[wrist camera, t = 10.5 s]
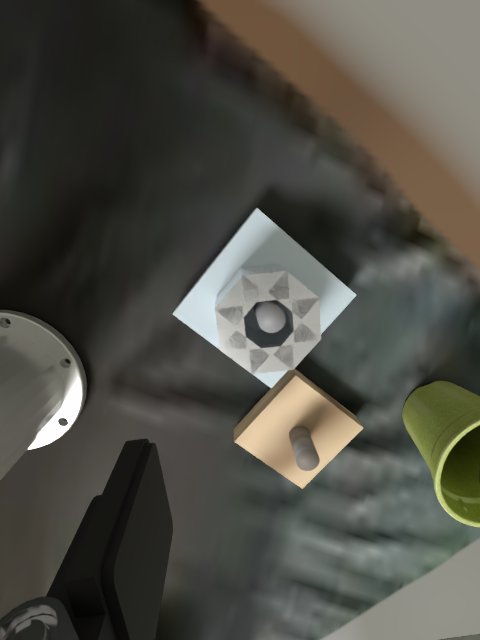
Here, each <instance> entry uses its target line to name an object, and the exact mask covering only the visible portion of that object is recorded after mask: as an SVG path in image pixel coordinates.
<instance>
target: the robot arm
mask: <svg viewBox="0 0 480 640" xmlns="http://www.w3.org/2000/svg"><path fill="white" fill-rule="evenodd" d="M9 320H10V321H9ZM68 359H69V360H70V361H68ZM86 393H87V381H86V375H85V370H84V368H83V365H82V362H81V360H80V358H79V356H78V354H77V353H76V351H75V349H74V348H73V346H72V345H71V344H70V343H69V342H68V341H67V339H66V338H65V337H64V336H63V335H62V334H60V333H59V332H58V331H57V330H56V329H54V328H53V327H52V326H50V325H49V324H47V323H45V322H43V321H42V320H40V319H38V318H36V317H33V316H30V315H27V314H25V313H21V312H16V311H10V310H0V480H1V479H2V478H3V477H4V476H5V475H6V473H7V472H8V471H9V470H10V469H11V468H12V466H13V465H14V464H15V463H16V462H17V461H18V460H19V458H20V457H21V456H22V455H23V454H24V453H25V452H26V450H29V449H35V448H39V447H42V446H44V445H47V444H50V443H52V442H53V441H55V440H57V439H58V438H60V437H61V436H62V435H63V434H65V433H66V432H67V431H68V430H69V429H70V428H71V426H72V425H73V424H74V423H75V421H76V420H77V419H78V417H79V415H80V413H81V411H82V409H83V407H84V403H85V400H86ZM479 482H480V470H479ZM172 533H173V523H172V517H171V512H170V507H169V503H168V498H167V493H166V489H165V484H164V479H163V475H162V470H161V465H160V461H159V456H158V451H157V447H156V444H155V443H149V441H148V439H139V440H132V441H127V442H126V443H125V444H124V446H123V449H122V451H121V453H120V455H119V458H118V460H117V462H116V464H115V467H114V469H113V471H112V473H111V475H110V478H109V480H108V482H107V484H106V487H105V489H104V491H103V493H102V495H98V496H96V497H94V498H93V500H92V501H91V503H90V505H89V507H88V509H87V511H86V513H85V516H84V518H83V520H82V522H81V524H80V526H79V528H78V530H77V532H76V534H75V537H74V539H73V541H72V543H71V545H70V547H69V549H68V551H67V553H66V555H65V558H64V560H63V562H62V564H61V566H60V568H59V570H58V572H57V574H56V576H55V579H54V581H53V583H52V585H51V587H50V589H49V591H48V593H47V595H46V597H38V598H35V599H32V600H29V601H26V602H25V603H23V604H21V605H19V606H18V607H16V608H14V609H12V610H11V611H10V612H9V613H8V614H6V615H5V616H4V617H3V618H1V619H0V640H155V637H156V631H157V625H158V619H159V613H160V607H161V601H162V595H163V589H164V583H165V577H166V571H167V564H168V558H169V552H170V546H171V540H172ZM440 640H480V634H476V635H469V636H462V637H454V638H447V639H440Z"/></svg>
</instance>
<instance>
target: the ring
mask: <svg viewBox="0 0 480 640" xmlns="http://www.w3.org/2000/svg"><path fill="white" fill-rule="evenodd" d="M319 299H320V298H319V297H318V296H317V295H316V294H315V293H313V292H312V291H311V290H310V289H308V288H307V287H306V286H304V285H303V284H302V283H301V282H300V281H298V280H297V279H296V278H295V277H294V276H292V275H291V274H290V273H289V272H288V271H287V270H286V269H285V268H283V267H282V266H281V265H280V264H278V263H277V264H269V265H259V266H250V267H240V268H239V270H238V271H237V272H236V273H235V274H234V276H233V277H232V278H231V279H230V281H229V282H228V283H227V284H226V286H225V287H224V288H223V289H222V291H221V292H220V293H219V294H218V296H216V302H215V314H216V322H217V330H218V338H219V346H220V351H222V352H223V353H224V354H226V355H227V356H229V357H230V358H231V359H233V360H234V361H235V362H237V363H238V364H239V365H241V366H242V367H243V368H245V369H246V370H247V371H249V372H250V373H251V374H259V373H268V372H277V371H286V370H294V368H295V367H296V366H297V365H298V364H299V363H300V362H301V361H302V360H303V359H304V357H305V356H306V355H307V354H308V353H309V352H310V351H311V350H312V349H313V347H314V346H315V345H316V344H317V343H318V342H319V341H320V340H321V325H320V301H319ZM270 300H278V301H279V302H281V303H282V304H283V306H284V314H285V317H286V321H285V324H284V326H283V328H282V329H281V330H279V331H278V332H275V333H268V332H265V331H263V330H257V331H256V330H255V329H253V328H252V327H251V326H250V325H248V324H247V323H246V322H244V317H245V315H246V314H247V313H248V312H249V311H250V309H251V308H252V307H253V306H254V305H255V303H256V302H261V301H270Z"/></svg>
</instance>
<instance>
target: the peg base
mask: <svg viewBox="0 0 480 640" xmlns="http://www.w3.org/2000/svg"><path fill="white" fill-rule="evenodd" d="M277 263H278V264H280V265H281V266H282V267H283V268H285V269H286V270H287V271H288V272H289V273H290V274H291V275H292V276H294V277H295V278H296V279H297V280H298V281H300V282H301V283H302V284H303V285H304V286H306V287H307V288H308V289H310V290H311V291H312V292H313V293H315V294H316V295H317V296H318V297H319V298H320V299H319V301H320V325H321V334H322V333H323V332H324V330H325V329H326V328H327V327H328V326H329V325H330V324H331V323H332V322H333V321H334V319H335V318H336V317H337V316H338V315H339V314H340V313H341V312H342V311H343V310H344V309H345V307H346V306H347V305H348V304H349V303H350V302H351V301H352V300H353V299H354V298H355V296H356V294H355V293H354V292H352V291H351V290H350V289H349V288H348V287H347V286H346V285H344V284H343V283H342V282H341V281H340V280H339V279H338V278H336V277H335V276H334V275H333V274H332V273H331V272H330V271H328V270H327V269H326V268H325V267H324V266H323V265H322V264H321V263H319V262H318V261H317V260H316V259H315V258H314V257H313V256H311V255H310V254H309V253H308V252H307V251H306V250H305V249H303V248H302V247H301V246H300V245H299V244H298V243H297V242H295V241H294V240H293V239H292V238H291V237H290V236H289V235H287V234H286V233H285V232H284V231H283V230H282V229H281V228H279V227H278V226H277V225H276V224H275V223H274V222H273V221H271V220H270V219H269V218H268V217H267V216H266V215H265V214H263V213H262V212H261V211H260V210H259V209H258V208H256V209H254V210H253V212H252V213H251V214H250V215H249V217H248V218H247V219H246V220H245V222H244V223H243V224H242V225H241V227H240V228H239V229H238V230H237V232H236V233H235V234H234V235H233V237H232V238H231V239H230V240H229V242H228V243H227V244H226V246H225V247H224V248H223V249H222V251H221V252H220V253H219V254H218V256H217V257H216V258H215V259H214V261H213V262H212V263H211V264H210V266H209V267H208V268H207V269H206V271H205V272H204V273H203V274H202V276H201V277H200V278H199V279H198V281H197V282H196V283H195V284H194V286H193V287H192V288H191V289H190V291H189V292H188V293H187V295H186V296H185V297H184V298H183V300H182V301H181V302H180V303H179V305H178V306H177V307H176V309H175V311H174V312H173V315H174V316H176V317H177V318H178V319H180V320H181V321H182V322H184V323H185V324H186V325H188V326H189V327H190V328H192V329H193V330H194V331H196V332H197V333H198V334H200V335H201V336H202V337H204V338H205V339H206V340H208V341H209V342H210V343H212V344H213V345H214V346H216V347H217V348H218V349H220V346H219V338H218V330H217V322H216V314H215V302H216V296H218V294H219V293H220V292H221V291H222V289H223V288H224V287H225V286H226V284H227V283H228V282H229V281H230V279H231V278H232V277H233V276H234V274H235V273H236V272H237V271H238V270H239V268H240V267H250V266H259V265H269V264H277ZM285 321H286V317H285V314H284V306H283V304H282V303H281V302H279V301H278V300H270V301H261V302H256V303H255V305H254V306H253V307H252V308H251V309H250V311H249V312H248V313H247V314H246V315H245V317H244V322H246V323H247V324H248V325H250V326H251V327H252V328H253V329H255V330H256V331H257V330H263V331H265V332H268V333H275V332H278V331H279V330H281V329H282V328H283V326H284V324H285ZM287 371H288V370H286V371H277V372H268V373H259V374H253V375H254V376H256V377H257V378H258V379H260V380H261V381H262V382H264V383H265V384H266V385H268V386H269V387H270V388H272V387H273V386H274V385H275V384H276V383H277V382H278V381H279V380H280V379H281V378H282V376H283V375H284V374H285V373H286V372H287Z"/></svg>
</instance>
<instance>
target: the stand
mask: <svg viewBox="0 0 480 640" xmlns="http://www.w3.org/2000/svg"><path fill="white" fill-rule="evenodd" d="M362 429H363V426H362V425H361V423H360V422H359V420H358V419H357V417H356V416H355V415H354V414H353V413H351V412H350V411H349V410H347V409H346V408H345V407H344V406H342V405H341V404H340V403H338V402H337V401H336V400H335V399H333V398H332V397H331V396H329V395H328V394H327V393H326V392H324V391H323V390H322V389H320V388H319V387H318V386H317V385H315V384H314V383H313V382H311V381H310V380H309V379H308V378H306V377H305V376H304V375H303V374H301V373H300V372H299V371H297V370H296V369H295V368H294V370H288V371H287V372H286V373H285V374H284V375H283V376H282V378H281V379H280V380H279V381H278V382H277V383H276V384H275V385H274V386H273V387H272V388H271V389H270V390H269V391H268V392H267V393H266V394H265V395H264V396H263V397H262V398H261V400H260V401H259V402H258V403H257V404H256V405H255V406H254V407H253V408H252V409H251V411H250V412H249V413H248V414H247V415H246V416H245V417H244V418H243V419H242V420H241V422H240V423H239V424H238V425H237V426H236V427H235V428H234V442H236V443H237V444H238V445H240V446H241V447H243V448H244V449H246V450H247V451H249V452H250V453H251V454H253V455H254V456H256V457H257V458H259V459H260V460H262V461H263V462H264V463H266V464H267V465H269V466H270V467H272V468H273V469H275V470H276V471H277V472H279V473H280V474H282V475H283V476H285V477H286V478H287V479H289V480H290V481H292V482H293V483H295V484H296V485H298V486H299V487H300V488H303V487H304V486H305V485H306V484H308V483H309V482H310V481H311V480H312V479H313V478H314V477H315V476H316V475H317V474H318V473H319V472H320V471H321V470H322V469H323V468H324V467H325V466H326V465H327V464H328V463H329V462H330V461H331V460H332V459H333V458H334V457H335V456H336V455H337V454H338V453H339V452H340V451H341V450H342V449H343V448H344V447H345V446H346V445H347V444H348V443H349V442H350V441H351V440H352V439H353V438H354V437H355V436H356V435H357V434H358V433H359V432H360V431H361V430H362Z"/></svg>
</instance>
